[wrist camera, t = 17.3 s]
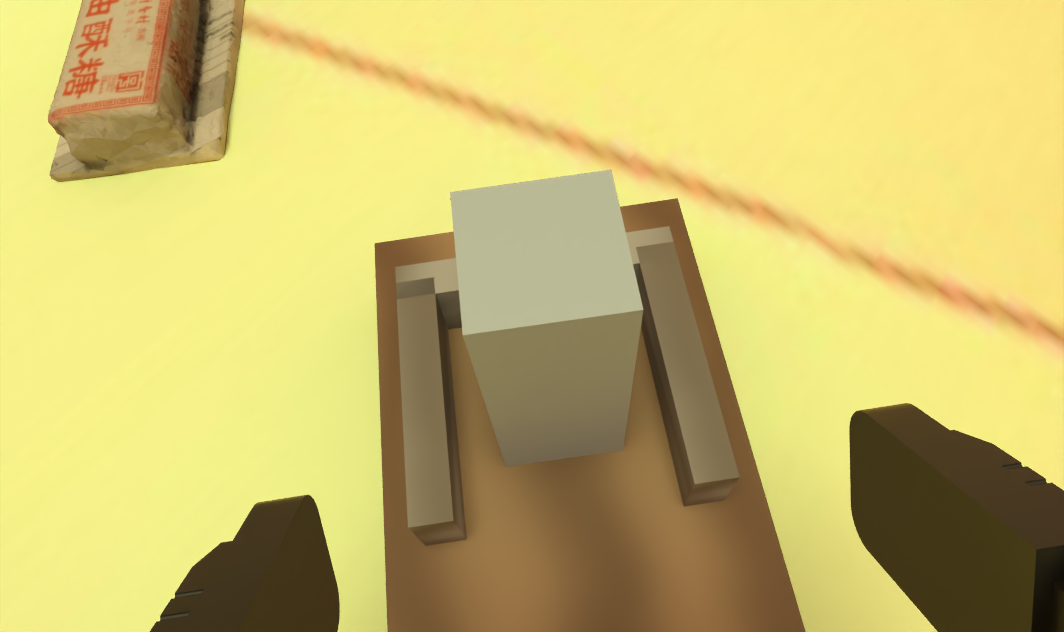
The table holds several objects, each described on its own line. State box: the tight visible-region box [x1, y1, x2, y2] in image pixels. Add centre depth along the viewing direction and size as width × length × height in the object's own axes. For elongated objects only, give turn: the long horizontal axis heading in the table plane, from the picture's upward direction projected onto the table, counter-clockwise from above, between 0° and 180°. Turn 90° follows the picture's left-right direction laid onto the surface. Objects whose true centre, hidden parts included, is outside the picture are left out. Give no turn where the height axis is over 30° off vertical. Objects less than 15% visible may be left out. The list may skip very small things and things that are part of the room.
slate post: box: [450, 170, 643, 467], centre depth 24 cm, size 4×4×11 cm
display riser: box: [375, 198, 805, 632], centre depth 28 cm, size 14×22×7 cm, turn 8°
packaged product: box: [48, 0, 244, 182], centre depth 44 cm, size 18×5×10 cm
